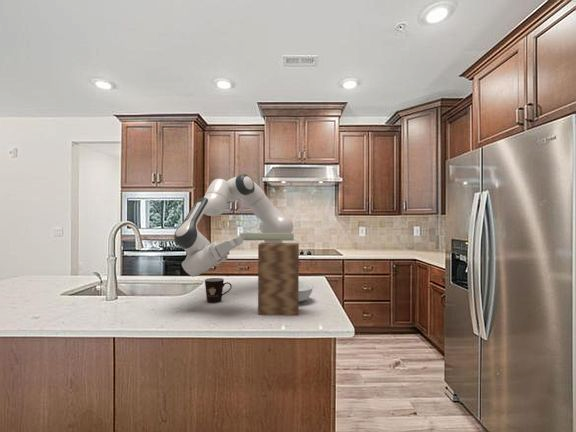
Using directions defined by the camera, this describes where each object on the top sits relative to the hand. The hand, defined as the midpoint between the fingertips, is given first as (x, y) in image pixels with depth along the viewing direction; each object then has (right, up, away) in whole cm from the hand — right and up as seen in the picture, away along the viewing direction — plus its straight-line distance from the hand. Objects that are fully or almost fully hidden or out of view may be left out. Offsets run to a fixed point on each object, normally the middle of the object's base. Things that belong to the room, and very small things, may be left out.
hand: (247, 235), depth 147 cm
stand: (+13, -32, 0) cm, 34 cm away
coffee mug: (-16, -32, +16) cm, 39 cm away
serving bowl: (+18, -32, +18) cm, 41 cm away
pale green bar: (+8, -2, 0) cm, 8 cm away
